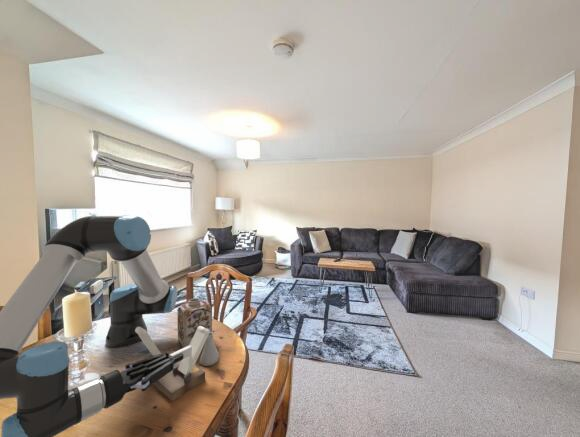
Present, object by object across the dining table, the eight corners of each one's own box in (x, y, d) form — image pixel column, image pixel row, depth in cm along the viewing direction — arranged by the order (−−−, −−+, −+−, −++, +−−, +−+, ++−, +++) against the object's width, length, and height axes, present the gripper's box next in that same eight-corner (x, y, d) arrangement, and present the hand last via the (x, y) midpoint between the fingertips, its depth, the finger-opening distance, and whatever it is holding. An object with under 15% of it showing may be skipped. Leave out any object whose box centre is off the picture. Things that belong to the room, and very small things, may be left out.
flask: (213, 367, 81) (212, 340, 81) (195, 365, 82) (194, 338, 82) (223, 355, 88) (222, 330, 88) (206, 353, 90) (205, 328, 89)
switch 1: (159, 362, 79) (140, 334, 74) (152, 356, 83) (132, 329, 78) (165, 357, 81) (146, 329, 76) (157, 352, 84) (138, 324, 79)
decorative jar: (184, 352, 91) (183, 307, 90) (177, 339, 100) (176, 299, 99) (213, 341, 98) (212, 300, 98) (204, 330, 107) (204, 293, 107)
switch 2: (186, 376, 71) (207, 329, 78) (176, 368, 75) (197, 324, 81) (191, 376, 73) (211, 330, 79) (181, 369, 76) (201, 325, 83)
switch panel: (172, 401, 66) (171, 387, 66) (137, 369, 80) (137, 357, 80) (205, 379, 75) (205, 366, 75) (169, 354, 89) (169, 343, 89)
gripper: (93, 396, 60) (180, 354, 79) (109, 422, 53) (201, 368, 72) (93, 368, 61) (180, 333, 79) (109, 389, 53) (201, 344, 72)
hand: (190, 350), depth 75 cm, fingers closed
